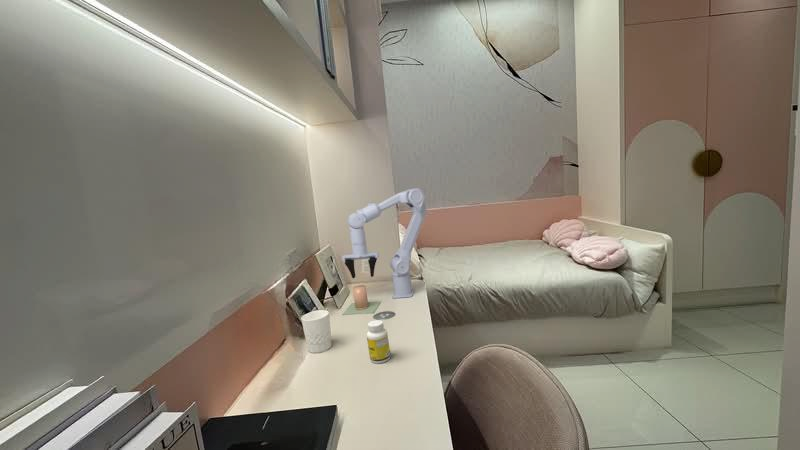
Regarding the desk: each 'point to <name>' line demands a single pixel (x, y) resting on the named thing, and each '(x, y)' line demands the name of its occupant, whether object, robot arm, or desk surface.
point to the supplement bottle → (378, 342)
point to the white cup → (317, 331)
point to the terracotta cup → (360, 297)
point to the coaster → (384, 315)
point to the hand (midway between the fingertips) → (363, 276)
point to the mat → (370, 309)
